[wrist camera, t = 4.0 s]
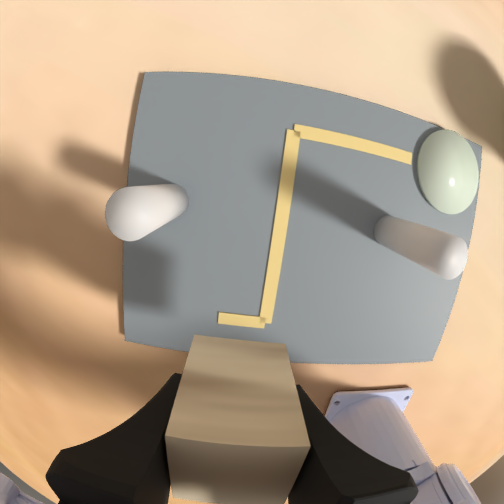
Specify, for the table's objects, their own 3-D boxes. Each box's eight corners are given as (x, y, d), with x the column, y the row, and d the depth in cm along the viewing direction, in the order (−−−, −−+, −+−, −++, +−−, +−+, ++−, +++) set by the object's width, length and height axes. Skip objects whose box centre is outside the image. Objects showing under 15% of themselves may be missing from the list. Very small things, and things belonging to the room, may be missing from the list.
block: (271, 408, 14) (283, 505, 8) (192, 400, 13) (172, 497, 7) (285, 343, 13) (310, 446, 7) (194, 334, 12) (165, 435, 7)
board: (428, 357, 21) (475, 408, 14) (127, 336, 20) (85, 402, 12) (477, 146, 17) (547, 145, 10) (147, 75, 15) (98, 24, 8)
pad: (469, 220, 18) (472, 221, 17) (411, 204, 17) (414, 205, 17) (477, 144, 16) (481, 144, 16) (419, 119, 16) (423, 118, 16)
